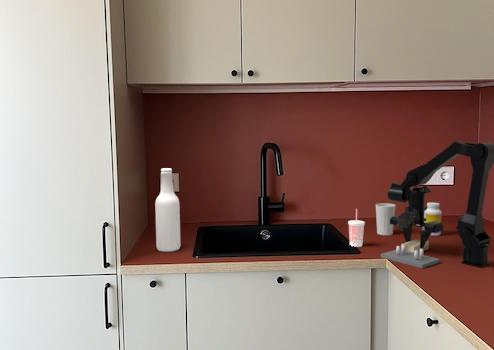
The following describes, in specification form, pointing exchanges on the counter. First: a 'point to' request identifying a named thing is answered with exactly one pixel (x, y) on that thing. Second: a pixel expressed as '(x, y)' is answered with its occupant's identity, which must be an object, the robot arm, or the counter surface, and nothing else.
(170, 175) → the white bottle
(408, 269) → the counter surface
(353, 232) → the beverage cup
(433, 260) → the peg stand
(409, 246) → the shelf board
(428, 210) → the supplement bottle
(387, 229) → the cup
